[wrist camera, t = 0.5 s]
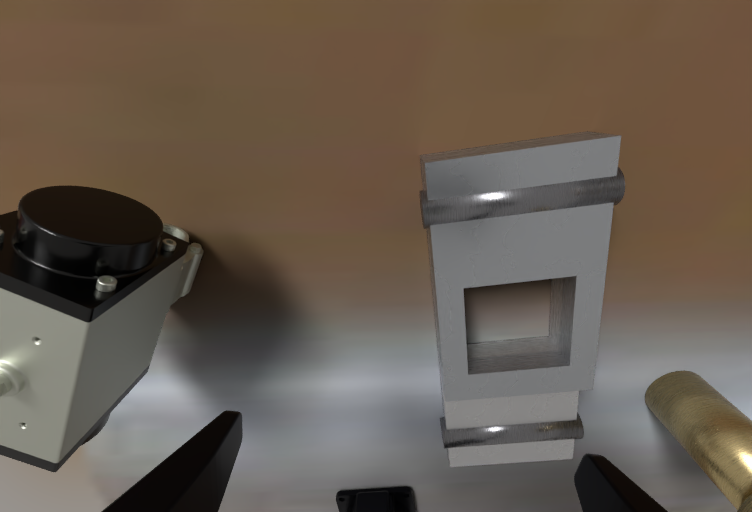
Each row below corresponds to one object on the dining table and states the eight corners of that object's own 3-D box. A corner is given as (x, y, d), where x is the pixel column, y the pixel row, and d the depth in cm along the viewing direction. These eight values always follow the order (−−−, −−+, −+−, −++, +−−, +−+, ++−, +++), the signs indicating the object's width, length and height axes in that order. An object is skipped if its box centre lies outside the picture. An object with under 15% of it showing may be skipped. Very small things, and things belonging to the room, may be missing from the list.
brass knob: (704, 416, 26) (849, 558, 18) (633, 421, 27) (743, 562, 18) (719, 361, 25) (888, 492, 16) (642, 368, 25) (769, 498, 17)
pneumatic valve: (237, 194, 21) (70, 291, 10) (184, 340, 25) (26, 521, 14) (145, 150, 20) (-146, 201, 9) (106, 308, 24) (-126, 473, 13)
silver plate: (567, 441, 28) (589, 481, 25) (443, 450, 29) (449, 490, 26) (593, 130, 19) (631, 135, 16) (414, 156, 20) (418, 164, 17)
